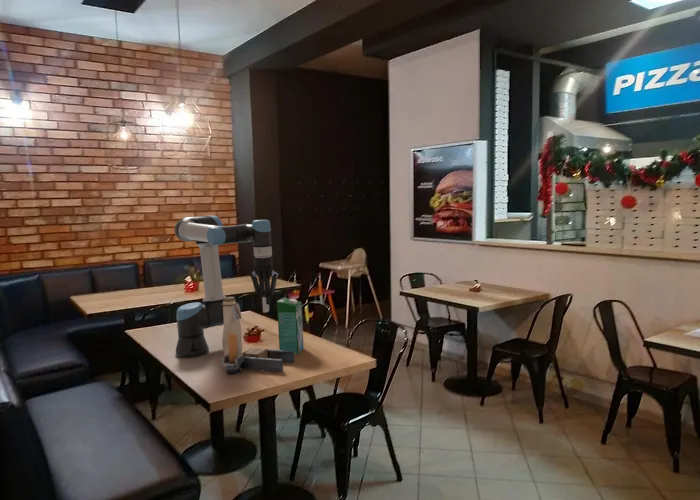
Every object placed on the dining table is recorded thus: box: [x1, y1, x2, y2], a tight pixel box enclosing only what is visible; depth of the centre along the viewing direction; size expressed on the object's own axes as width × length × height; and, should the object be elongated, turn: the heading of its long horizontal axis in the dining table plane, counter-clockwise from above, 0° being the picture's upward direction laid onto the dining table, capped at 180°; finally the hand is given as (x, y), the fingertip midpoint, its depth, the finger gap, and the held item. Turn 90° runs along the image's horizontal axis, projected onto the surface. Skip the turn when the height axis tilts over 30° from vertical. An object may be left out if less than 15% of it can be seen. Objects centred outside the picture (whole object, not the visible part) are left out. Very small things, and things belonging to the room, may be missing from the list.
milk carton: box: [276, 297, 305, 355], centre depth 244 cm, size 9×9×25 cm
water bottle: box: [221, 296, 243, 356], centre depth 237 cm, size 10×9×28 cm
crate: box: [242, 347, 268, 358], centre depth 228 cm, size 8×8×6 cm
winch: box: [221, 354, 244, 376], centre depth 219 cm, size 7×8×7 cm
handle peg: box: [228, 334, 237, 363], centre depth 218 cm, size 3×3×12 cm
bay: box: [237, 348, 296, 373], centre depth 226 cm, size 21×13×5 cm, turn 71°
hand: (266, 311), depth 221 cm, fingers closed
